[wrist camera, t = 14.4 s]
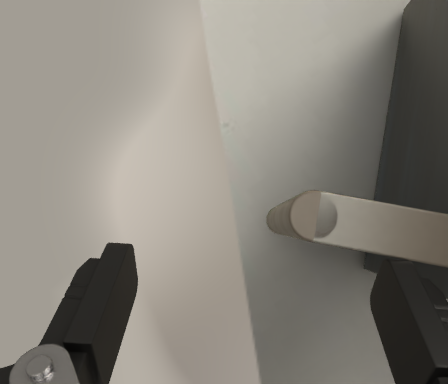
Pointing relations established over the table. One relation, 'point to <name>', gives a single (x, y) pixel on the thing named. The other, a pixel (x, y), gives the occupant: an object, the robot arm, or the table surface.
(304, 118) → the table surface
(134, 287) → the robot arm
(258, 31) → the table surface
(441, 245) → the door
